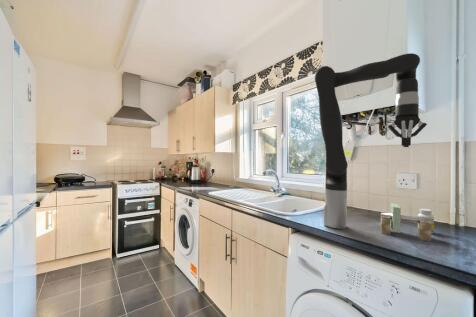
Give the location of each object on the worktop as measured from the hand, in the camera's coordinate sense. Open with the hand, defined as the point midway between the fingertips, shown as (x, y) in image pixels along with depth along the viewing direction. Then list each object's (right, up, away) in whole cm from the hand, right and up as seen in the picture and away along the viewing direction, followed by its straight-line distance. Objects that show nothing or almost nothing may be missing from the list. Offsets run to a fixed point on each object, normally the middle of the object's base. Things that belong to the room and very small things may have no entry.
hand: (406, 147), depth 87 cm
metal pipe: (+1, -31, +2) cm, 31 cm away
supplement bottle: (+14, -37, +7) cm, 41 cm away
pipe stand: (+1, -37, +2) cm, 37 cm away
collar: (-2, -35, +4) cm, 35 cm away
